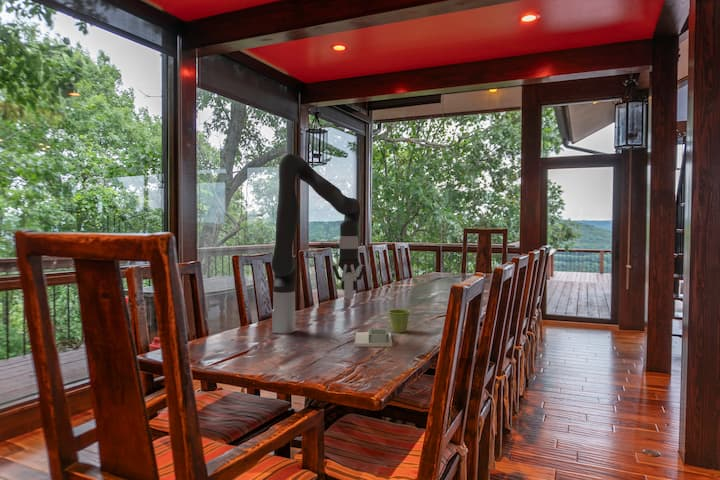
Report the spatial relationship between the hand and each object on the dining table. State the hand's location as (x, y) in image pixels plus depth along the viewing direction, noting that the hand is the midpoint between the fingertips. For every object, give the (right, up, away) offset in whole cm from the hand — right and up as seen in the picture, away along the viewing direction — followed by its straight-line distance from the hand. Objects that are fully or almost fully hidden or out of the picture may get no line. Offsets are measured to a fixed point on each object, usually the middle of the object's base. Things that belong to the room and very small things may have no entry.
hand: (349, 289), depth 185 cm
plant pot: (+21, -19, +10) cm, 30 cm away
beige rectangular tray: (+10, -19, -5) cm, 22 cm away
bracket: (0, -3, 0) cm, 3 cm away
